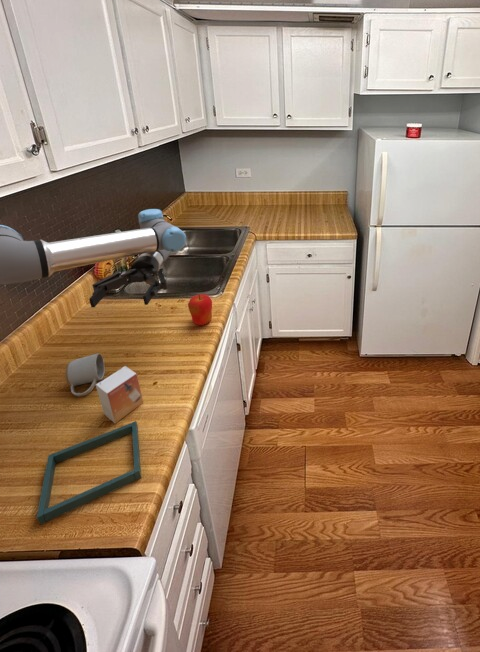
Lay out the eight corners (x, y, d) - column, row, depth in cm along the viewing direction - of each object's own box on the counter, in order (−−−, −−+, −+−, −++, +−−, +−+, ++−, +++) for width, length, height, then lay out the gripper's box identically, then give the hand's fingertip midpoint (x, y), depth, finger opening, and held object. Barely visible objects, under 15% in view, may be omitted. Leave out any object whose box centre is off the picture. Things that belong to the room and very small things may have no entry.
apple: (187, 321, 126) (183, 294, 121) (208, 312, 131) (204, 286, 127) (196, 332, 120) (192, 304, 115) (218, 322, 125) (215, 295, 121)
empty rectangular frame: (39, 524, 65) (36, 517, 64) (51, 461, 77) (48, 455, 76) (141, 477, 74) (139, 471, 73) (138, 427, 85) (136, 420, 84)
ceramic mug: (75, 374, 101) (68, 354, 98) (106, 366, 104) (100, 347, 101) (65, 402, 92) (57, 381, 89) (99, 393, 95) (93, 373, 92)
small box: (115, 424, 85) (106, 394, 82) (103, 414, 88) (94, 384, 84) (144, 402, 92) (137, 373, 88) (132, 393, 95) (125, 364, 91)
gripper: (104, 256, 106) (65, 292, 86) (185, 253, 109) (164, 287, 89) (109, 277, 109) (72, 316, 89) (188, 273, 111) (169, 311, 92)
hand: (118, 301), depth 89 cm, fingers open, 13 cm apart
